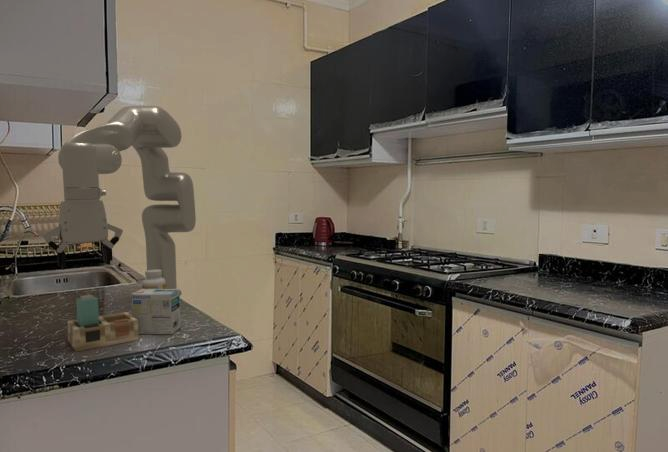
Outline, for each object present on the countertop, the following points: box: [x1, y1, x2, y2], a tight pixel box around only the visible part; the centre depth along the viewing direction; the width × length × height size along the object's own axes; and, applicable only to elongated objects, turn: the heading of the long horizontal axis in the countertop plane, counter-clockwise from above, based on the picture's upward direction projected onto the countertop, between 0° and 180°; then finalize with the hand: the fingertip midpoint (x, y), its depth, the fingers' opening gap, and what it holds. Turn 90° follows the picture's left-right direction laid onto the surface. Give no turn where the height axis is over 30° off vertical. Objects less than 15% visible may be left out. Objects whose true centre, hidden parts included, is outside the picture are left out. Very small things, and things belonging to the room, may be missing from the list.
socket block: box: [66, 311, 139, 352], centre depth 122 cm, size 10×14×5 cm
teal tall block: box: [75, 294, 100, 327], centre depth 120 cm, size 4×4×11 cm
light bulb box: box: [131, 288, 182, 335], centre depth 130 cm, size 11×7×11 cm, turn 89°
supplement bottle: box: [141, 269, 166, 289], centre depth 148 cm, size 7×7×13 cm
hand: (86, 266), depth 119 cm, fingers open, 9 cm apart
